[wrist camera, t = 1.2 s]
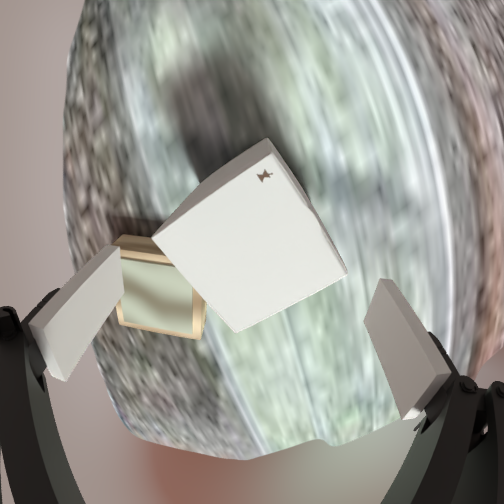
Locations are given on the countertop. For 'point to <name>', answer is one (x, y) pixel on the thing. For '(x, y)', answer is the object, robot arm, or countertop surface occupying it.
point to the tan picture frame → (157, 292)
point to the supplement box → (250, 239)
